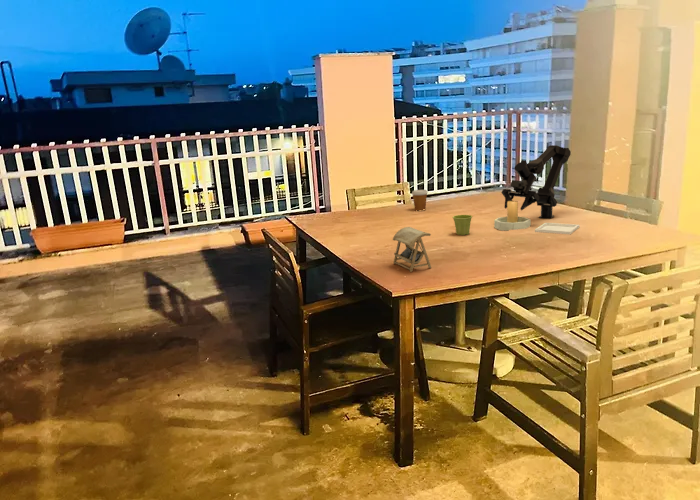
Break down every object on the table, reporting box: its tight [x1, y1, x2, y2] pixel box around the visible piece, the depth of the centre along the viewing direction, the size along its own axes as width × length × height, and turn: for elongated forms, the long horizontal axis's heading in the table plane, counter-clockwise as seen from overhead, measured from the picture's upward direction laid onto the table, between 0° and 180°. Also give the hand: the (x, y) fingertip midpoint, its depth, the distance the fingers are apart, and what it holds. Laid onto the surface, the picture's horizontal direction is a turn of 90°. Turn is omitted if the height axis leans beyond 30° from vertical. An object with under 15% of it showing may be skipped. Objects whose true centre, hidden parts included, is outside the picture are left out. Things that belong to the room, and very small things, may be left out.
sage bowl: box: [494, 216, 532, 232], centre depth 268 cm, size 16×16×4 cm
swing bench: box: [392, 226, 432, 273], centre depth 213 cm, size 15×10×15 cm, turn 24°
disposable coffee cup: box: [411, 189, 428, 211], centre depth 329 cm, size 10×10×12 cm
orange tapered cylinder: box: [506, 200, 519, 223], centre depth 267 cm, size 5×5×12 cm
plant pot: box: [452, 214, 473, 236], centre depth 261 cm, size 9×9×9 cm
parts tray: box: [534, 222, 580, 235], centre depth 255 cm, size 16×16×2 cm
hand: (512, 208), depth 266 cm, fingers open, 9 cm apart
